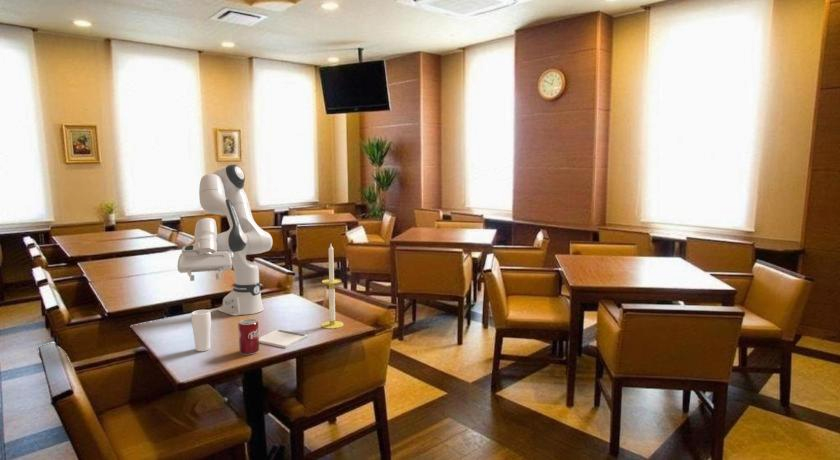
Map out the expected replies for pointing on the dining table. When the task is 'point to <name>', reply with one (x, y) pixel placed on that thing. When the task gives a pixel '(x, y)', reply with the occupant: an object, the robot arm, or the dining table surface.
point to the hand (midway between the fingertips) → (205, 279)
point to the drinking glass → (201, 329)
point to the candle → (331, 294)
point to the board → (282, 338)
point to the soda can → (248, 336)
